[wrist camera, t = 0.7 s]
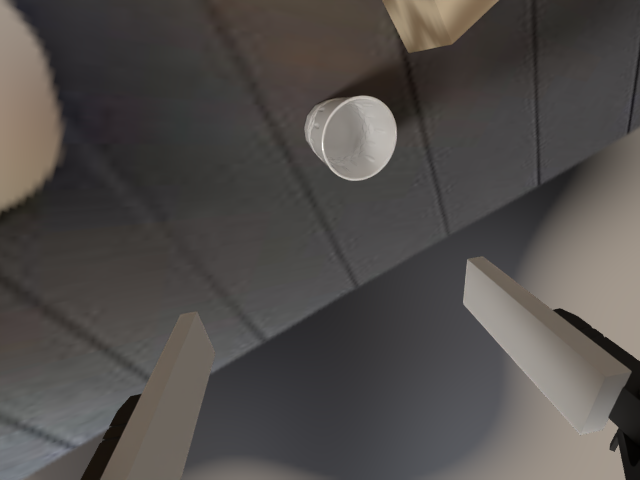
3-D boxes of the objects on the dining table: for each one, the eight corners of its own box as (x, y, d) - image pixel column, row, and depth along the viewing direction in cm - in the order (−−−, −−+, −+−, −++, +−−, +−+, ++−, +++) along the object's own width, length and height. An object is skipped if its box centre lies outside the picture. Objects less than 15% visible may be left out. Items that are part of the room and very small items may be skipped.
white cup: (369, 116, 37) (411, 124, 28) (338, 170, 39) (369, 192, 31) (319, 80, 34) (350, 77, 25) (288, 142, 36) (307, 158, 27)
